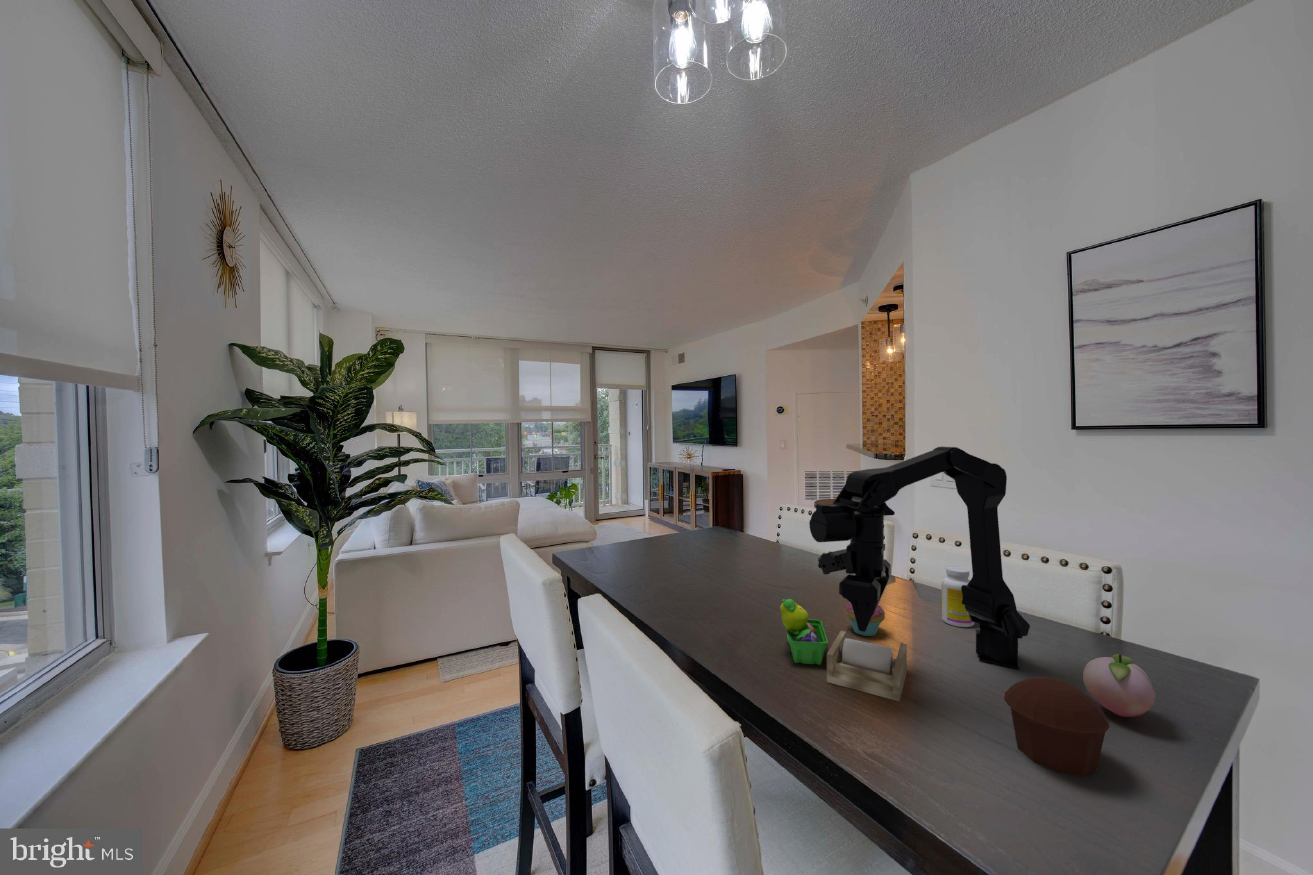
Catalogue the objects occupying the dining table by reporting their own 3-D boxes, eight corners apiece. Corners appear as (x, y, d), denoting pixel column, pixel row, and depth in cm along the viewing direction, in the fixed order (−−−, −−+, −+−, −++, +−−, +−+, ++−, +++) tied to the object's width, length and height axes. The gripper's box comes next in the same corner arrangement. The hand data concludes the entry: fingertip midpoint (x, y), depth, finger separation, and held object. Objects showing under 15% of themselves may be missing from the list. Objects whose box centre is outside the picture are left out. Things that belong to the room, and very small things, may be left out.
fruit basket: (828, 668, 93) (828, 611, 93) (781, 664, 95) (781, 608, 95) (821, 643, 104) (820, 591, 104) (778, 639, 106) (778, 589, 106)
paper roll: (893, 670, 90) (893, 643, 90) (890, 682, 86) (890, 654, 86) (847, 659, 94) (847, 633, 94) (841, 670, 90) (841, 643, 90)
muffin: (1059, 728, 74) (1060, 664, 74) (1133, 780, 63) (1134, 705, 63) (985, 730, 74) (985, 666, 74) (1046, 784, 63) (1046, 708, 62)
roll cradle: (906, 671, 92) (906, 644, 92) (899, 701, 82) (899, 671, 82) (840, 655, 98) (840, 630, 98) (826, 681, 88) (826, 653, 88)
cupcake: (879, 643, 104) (879, 588, 104) (839, 633, 109) (839, 580, 109) (888, 629, 111) (888, 578, 110) (850, 621, 116) (850, 571, 116)
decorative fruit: (1081, 694, 84) (1081, 637, 83) (1148, 711, 78) (1149, 650, 78) (1084, 719, 76) (1085, 657, 76) (1158, 740, 71) (1159, 673, 71)
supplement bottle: (980, 628, 111) (981, 573, 111) (951, 628, 111) (952, 573, 111) (963, 617, 118) (963, 565, 118) (935, 617, 118) (935, 565, 118)
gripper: (833, 526, 102) (833, 599, 102) (809, 544, 86) (809, 630, 86) (891, 531, 96) (890, 609, 96) (877, 552, 80) (876, 645, 80)
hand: (866, 622), depth 90 cm, fingers open, 9 cm apart
